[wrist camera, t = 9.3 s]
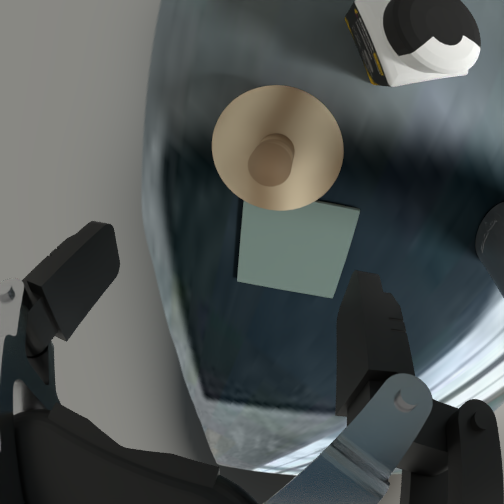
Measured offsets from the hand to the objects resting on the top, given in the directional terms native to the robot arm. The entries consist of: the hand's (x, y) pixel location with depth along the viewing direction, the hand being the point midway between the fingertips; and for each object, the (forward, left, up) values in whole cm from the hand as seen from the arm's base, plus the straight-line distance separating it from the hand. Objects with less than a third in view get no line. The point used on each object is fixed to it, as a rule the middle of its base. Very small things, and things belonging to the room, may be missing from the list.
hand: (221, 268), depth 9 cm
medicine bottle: (-9, -11, -22) cm, 26 cm away
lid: (0, 0, -17) cm, 17 cm away
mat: (-3, +12, -21) cm, 25 cm away
